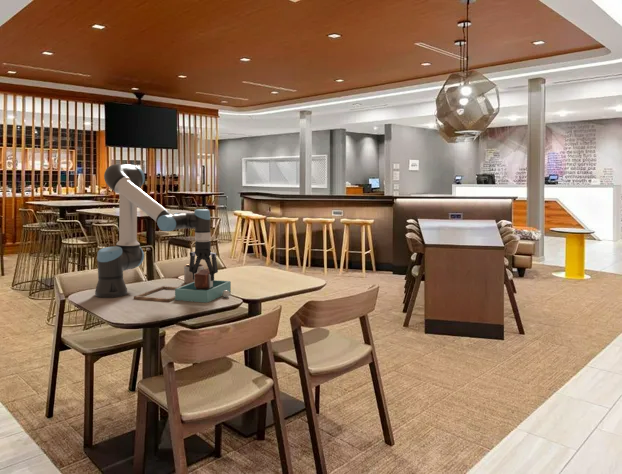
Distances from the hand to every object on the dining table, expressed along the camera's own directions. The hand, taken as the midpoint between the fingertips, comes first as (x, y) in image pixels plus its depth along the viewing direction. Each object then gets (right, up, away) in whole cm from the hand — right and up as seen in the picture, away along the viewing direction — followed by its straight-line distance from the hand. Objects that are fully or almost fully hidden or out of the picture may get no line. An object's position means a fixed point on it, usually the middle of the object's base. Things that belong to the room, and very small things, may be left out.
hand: (203, 286), depth 262 cm
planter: (-12, -1, +33) cm, 35 cm away
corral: (-19, -4, +2) cm, 20 cm away
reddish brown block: (0, -1, +1) cm, 2 cm away
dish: (0, -5, +1) cm, 5 cm away
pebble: (+12, -5, -3) cm, 13 cm away
